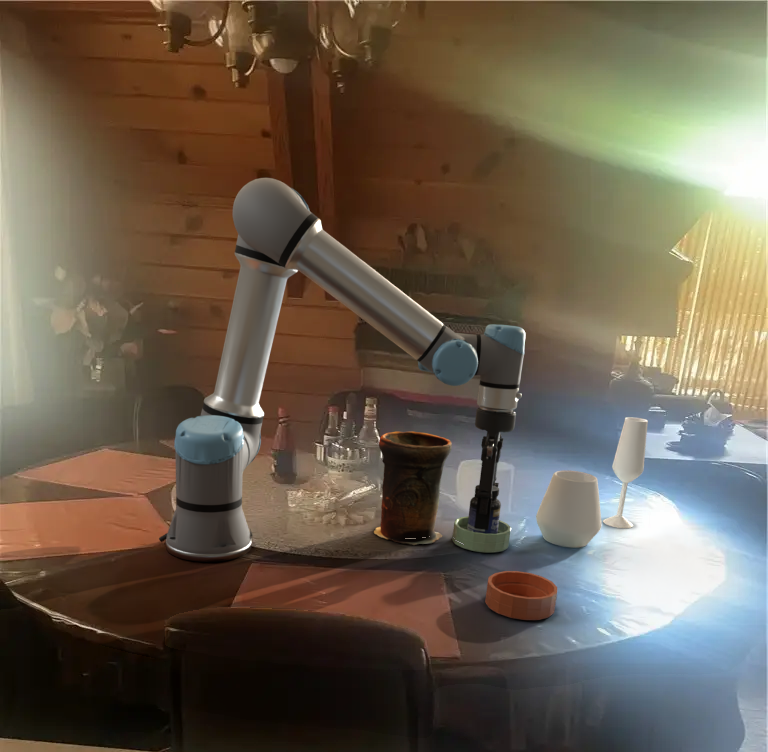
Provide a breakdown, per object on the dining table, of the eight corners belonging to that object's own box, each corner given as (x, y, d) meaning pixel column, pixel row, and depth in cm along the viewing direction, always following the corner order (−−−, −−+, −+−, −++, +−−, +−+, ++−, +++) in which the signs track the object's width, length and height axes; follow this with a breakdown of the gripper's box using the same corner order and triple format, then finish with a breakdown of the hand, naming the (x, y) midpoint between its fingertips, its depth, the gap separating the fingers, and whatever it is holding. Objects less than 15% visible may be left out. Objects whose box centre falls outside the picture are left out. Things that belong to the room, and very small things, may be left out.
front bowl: (482, 615, 120) (485, 592, 119) (488, 588, 131) (490, 567, 129) (553, 626, 118) (557, 603, 117) (553, 598, 129) (557, 576, 127)
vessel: (422, 520, 164) (431, 429, 158) (454, 542, 152) (465, 445, 146) (361, 524, 158) (368, 430, 152) (389, 548, 146) (398, 447, 140)
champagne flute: (631, 530, 168) (650, 424, 161) (600, 524, 171) (618, 419, 163) (635, 522, 174) (654, 419, 167) (605, 516, 177) (623, 415, 169)
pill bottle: (495, 547, 149) (502, 493, 145) (464, 543, 150) (470, 489, 146) (497, 537, 154) (503, 485, 151) (467, 533, 155) (473, 481, 152)
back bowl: (449, 548, 148) (451, 529, 147) (456, 531, 158) (458, 513, 157) (506, 557, 146) (509, 537, 145) (509, 538, 156) (512, 520, 155)
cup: (521, 537, 158) (530, 473, 153) (552, 524, 168) (561, 463, 163) (580, 556, 150) (591, 488, 145) (609, 541, 160) (620, 478, 155)
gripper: (513, 419, 134) (498, 541, 141) (518, 403, 152) (504, 512, 159) (471, 414, 136) (458, 535, 143) (481, 399, 153) (469, 507, 161)
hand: (482, 523), depth 151 cm, fingers closed on pill bottle, 6 cm apart
